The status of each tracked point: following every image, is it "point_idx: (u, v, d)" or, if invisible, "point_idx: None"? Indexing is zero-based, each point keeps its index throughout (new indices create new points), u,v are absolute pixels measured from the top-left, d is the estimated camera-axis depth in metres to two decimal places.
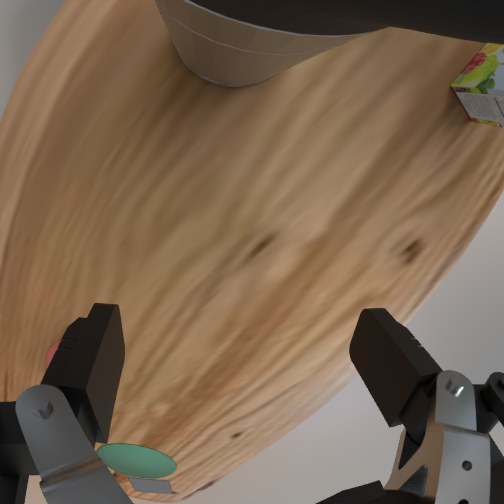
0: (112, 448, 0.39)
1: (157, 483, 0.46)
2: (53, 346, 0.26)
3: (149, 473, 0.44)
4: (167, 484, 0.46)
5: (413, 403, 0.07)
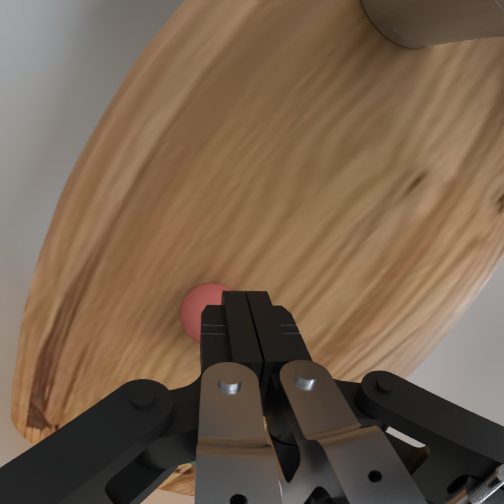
0: None
1: None
2: (197, 290, 0.26)
3: None
4: None
5: (267, 392, 0.07)
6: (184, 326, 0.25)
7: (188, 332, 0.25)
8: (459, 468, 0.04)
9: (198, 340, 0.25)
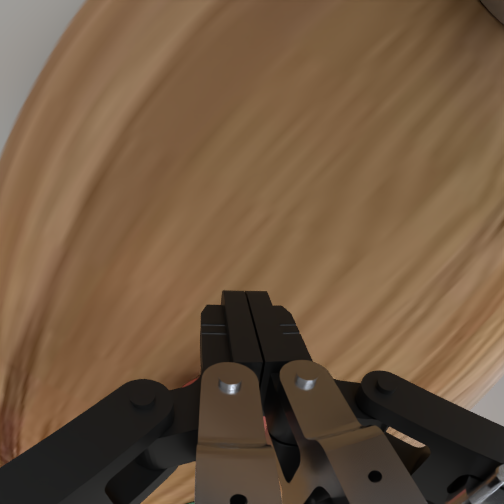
0: None
1: None
2: None
3: None
4: None
5: (268, 392, 0.07)
6: None
7: None
8: (459, 468, 0.04)
9: None
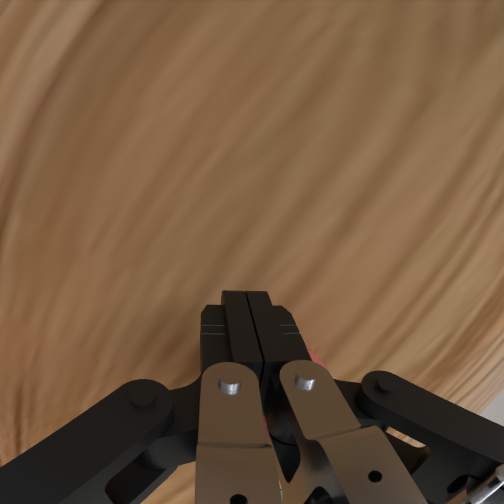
0: None
1: None
2: None
3: None
4: None
5: (268, 392, 0.07)
6: None
7: None
8: (459, 468, 0.04)
9: None
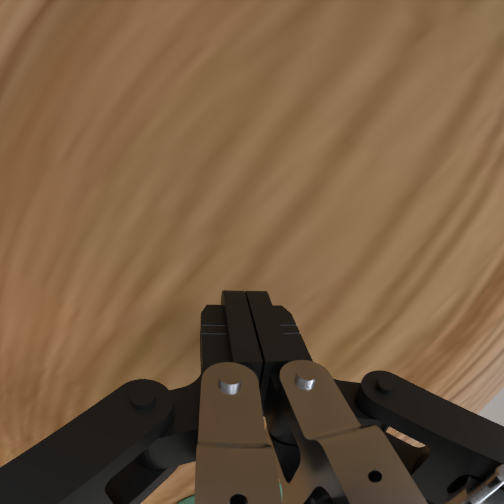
0: None
1: None
2: None
3: None
4: None
5: (267, 392, 0.07)
6: None
7: None
8: (459, 468, 0.04)
9: None
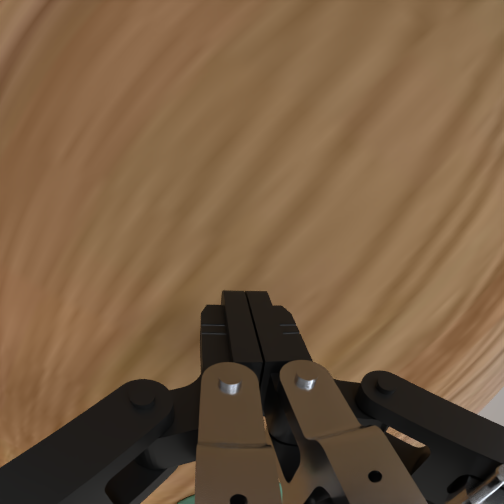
0: None
1: None
2: None
3: None
4: None
5: (267, 392, 0.07)
6: None
7: None
8: (459, 468, 0.04)
9: None
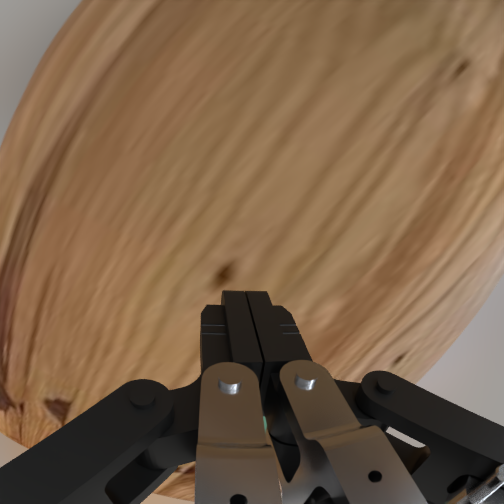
0: None
1: None
2: None
3: None
4: None
5: (267, 392, 0.07)
6: None
7: None
8: (459, 468, 0.04)
9: None
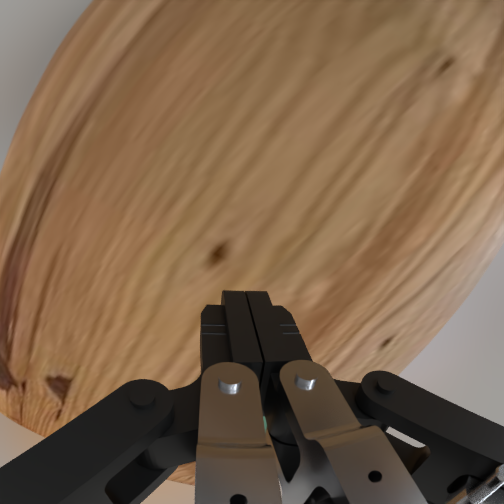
0: None
1: None
2: None
3: None
4: None
5: (267, 392, 0.07)
6: None
7: None
8: (459, 468, 0.04)
9: None
